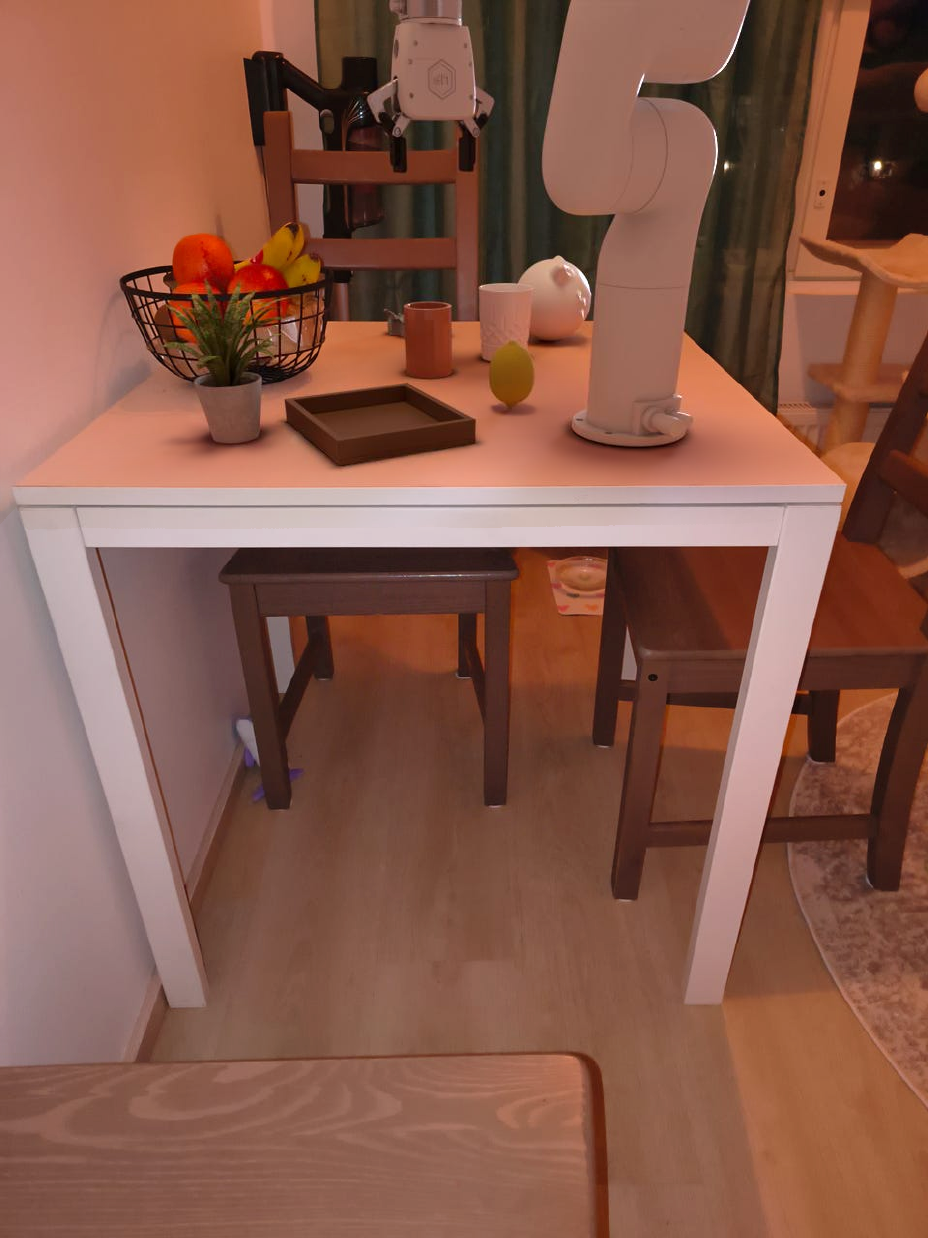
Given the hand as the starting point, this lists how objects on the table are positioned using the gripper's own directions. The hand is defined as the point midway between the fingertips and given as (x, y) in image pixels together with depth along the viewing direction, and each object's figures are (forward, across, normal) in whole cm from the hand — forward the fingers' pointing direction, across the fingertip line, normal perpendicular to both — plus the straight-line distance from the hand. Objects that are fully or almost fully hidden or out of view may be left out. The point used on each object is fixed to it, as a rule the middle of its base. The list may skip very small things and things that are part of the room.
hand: (433, 171), depth 109 cm
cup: (+25, -4, -5) cm, 26 cm away
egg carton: (+25, +6, +20) cm, 33 cm away
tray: (+25, -20, -27) cm, 42 cm away
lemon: (+25, -2, -26) cm, 36 cm away
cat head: (+25, +23, +7) cm, 35 cm away
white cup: (+25, +10, -2) cm, 27 cm away
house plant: (+25, -35, -23) cm, 48 cm away
